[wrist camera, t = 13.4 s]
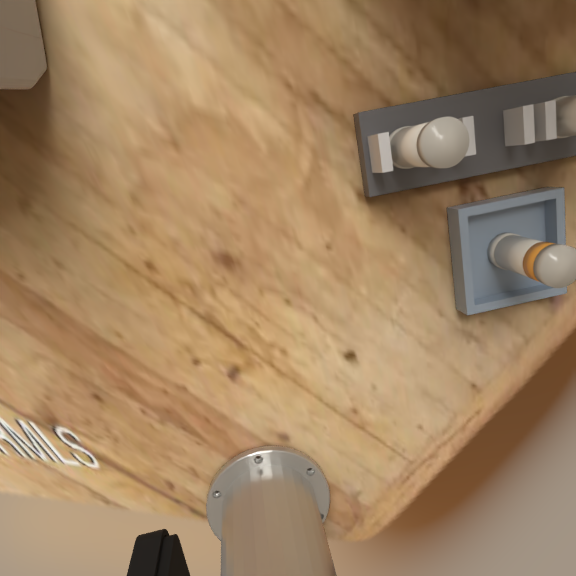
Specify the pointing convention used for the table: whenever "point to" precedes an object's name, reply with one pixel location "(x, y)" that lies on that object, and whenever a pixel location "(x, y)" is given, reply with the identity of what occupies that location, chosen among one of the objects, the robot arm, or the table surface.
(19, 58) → the electrical switch box
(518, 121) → the fuse holder
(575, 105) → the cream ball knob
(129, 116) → the table surface
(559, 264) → the cylinder
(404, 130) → the domed white capsule
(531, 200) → the tray
